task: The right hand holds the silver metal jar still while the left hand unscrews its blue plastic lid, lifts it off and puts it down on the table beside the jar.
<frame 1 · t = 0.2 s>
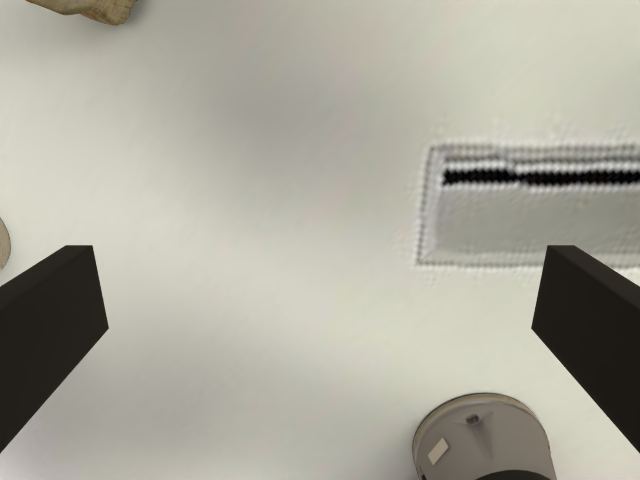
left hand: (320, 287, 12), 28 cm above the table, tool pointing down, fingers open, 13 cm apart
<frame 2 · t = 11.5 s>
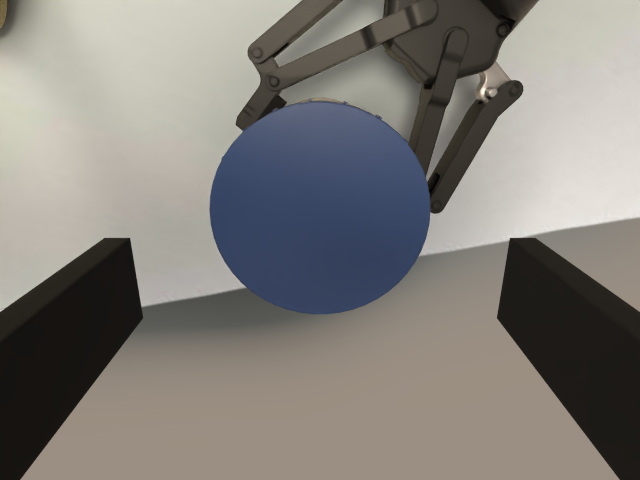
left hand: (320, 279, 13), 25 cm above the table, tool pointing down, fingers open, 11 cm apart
right hand: (281, 217, 31), fingers closed on jar, 9 cm apart
lid: (320, 215, 19), point 18 cm above the table, screwed on, not yet turned
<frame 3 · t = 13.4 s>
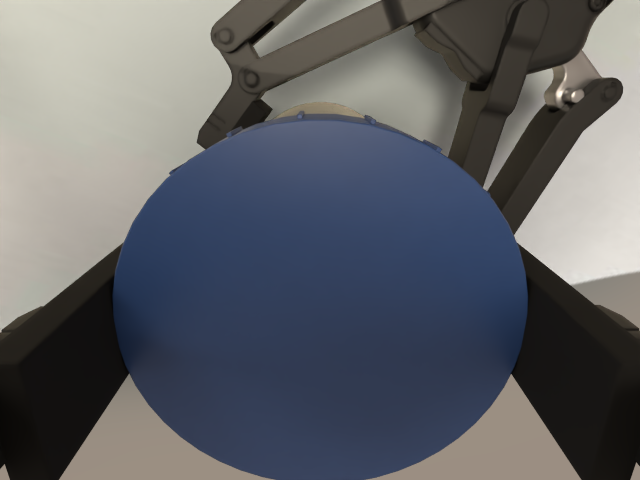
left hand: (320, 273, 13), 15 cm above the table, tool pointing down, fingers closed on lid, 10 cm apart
jar: (320, 177, 27), on the table, touching right hand
lid: (320, 324, 11), point 18 cm above the table, screwed on, not yet turned, touching left hand
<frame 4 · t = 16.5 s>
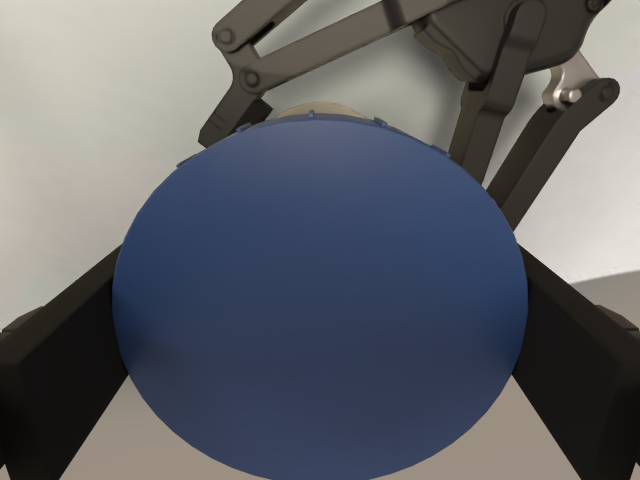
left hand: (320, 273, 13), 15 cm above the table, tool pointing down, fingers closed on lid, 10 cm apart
jar: (319, 176, 27), on the table, touching right hand
lid: (320, 324, 11), point 18 cm above the table, turned 87° so far, risen 0.2 cm, still on its thread, touching left hand
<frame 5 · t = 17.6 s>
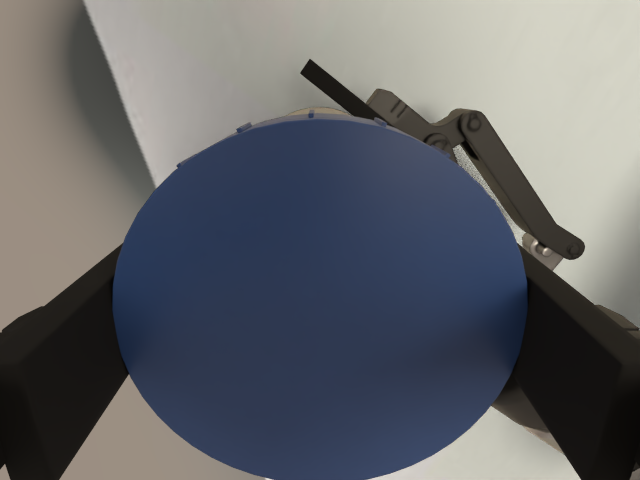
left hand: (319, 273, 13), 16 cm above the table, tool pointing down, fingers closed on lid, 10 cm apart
lid: (320, 324, 11), point 19 cm above the table, off its thread, touching left hand
when the left hand's fingers open (0 cm above the table, at t = 23.6 s): lid drops 2 cm, point 2 cm above the table.
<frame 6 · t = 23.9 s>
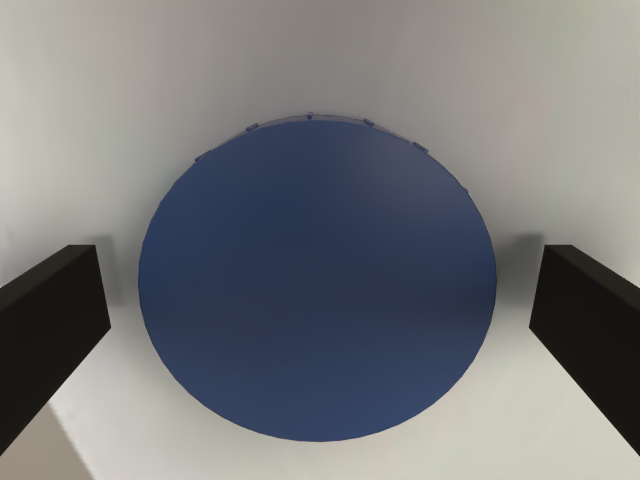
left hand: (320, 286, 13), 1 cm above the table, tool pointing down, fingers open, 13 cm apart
lid: (317, 298, 12), point 2 cm above the table, off its thread
when the right hand's fingers open (7 cm above the table, at t = 24.7 s): jar stays where it is, on the table.
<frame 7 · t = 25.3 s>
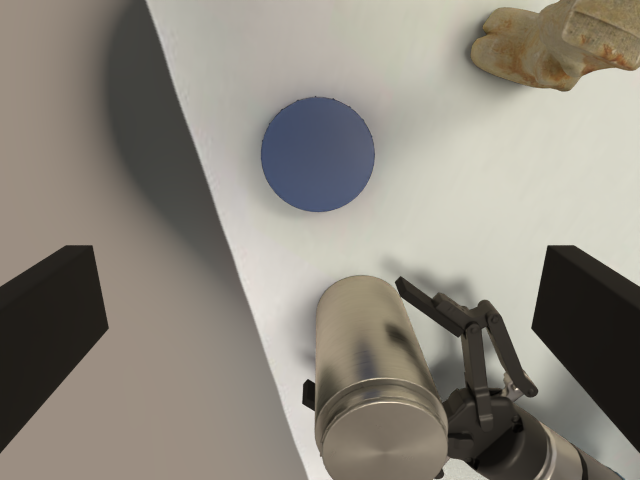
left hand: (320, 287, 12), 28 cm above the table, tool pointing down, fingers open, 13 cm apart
right hand: (350, 340, 38), fingers open, 13 cm apart
jar: (360, 315, 44), on the table
lid: (317, 156, 37), point 2 cm above the table, off its thread
sculpture: (509, 52, 36), on the table
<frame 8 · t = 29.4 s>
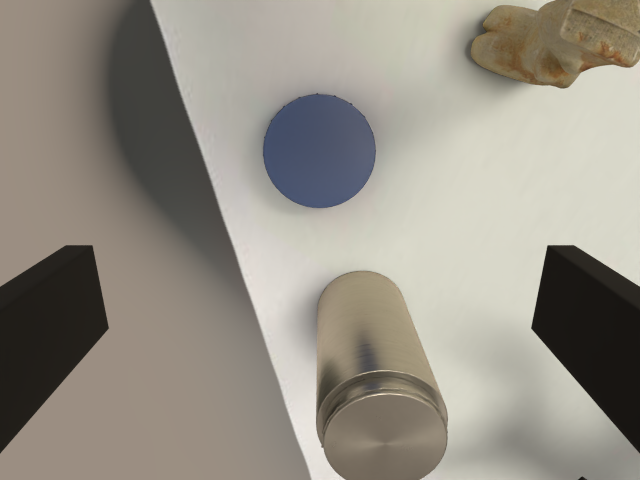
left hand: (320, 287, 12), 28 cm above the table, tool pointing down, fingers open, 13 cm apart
jar: (361, 310, 45), on the table
lid: (319, 153, 38), point 2 cm above the table, off its thread
sculpture: (509, 50, 36), on the table
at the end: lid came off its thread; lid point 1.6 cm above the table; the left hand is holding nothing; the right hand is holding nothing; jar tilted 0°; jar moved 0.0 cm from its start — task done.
